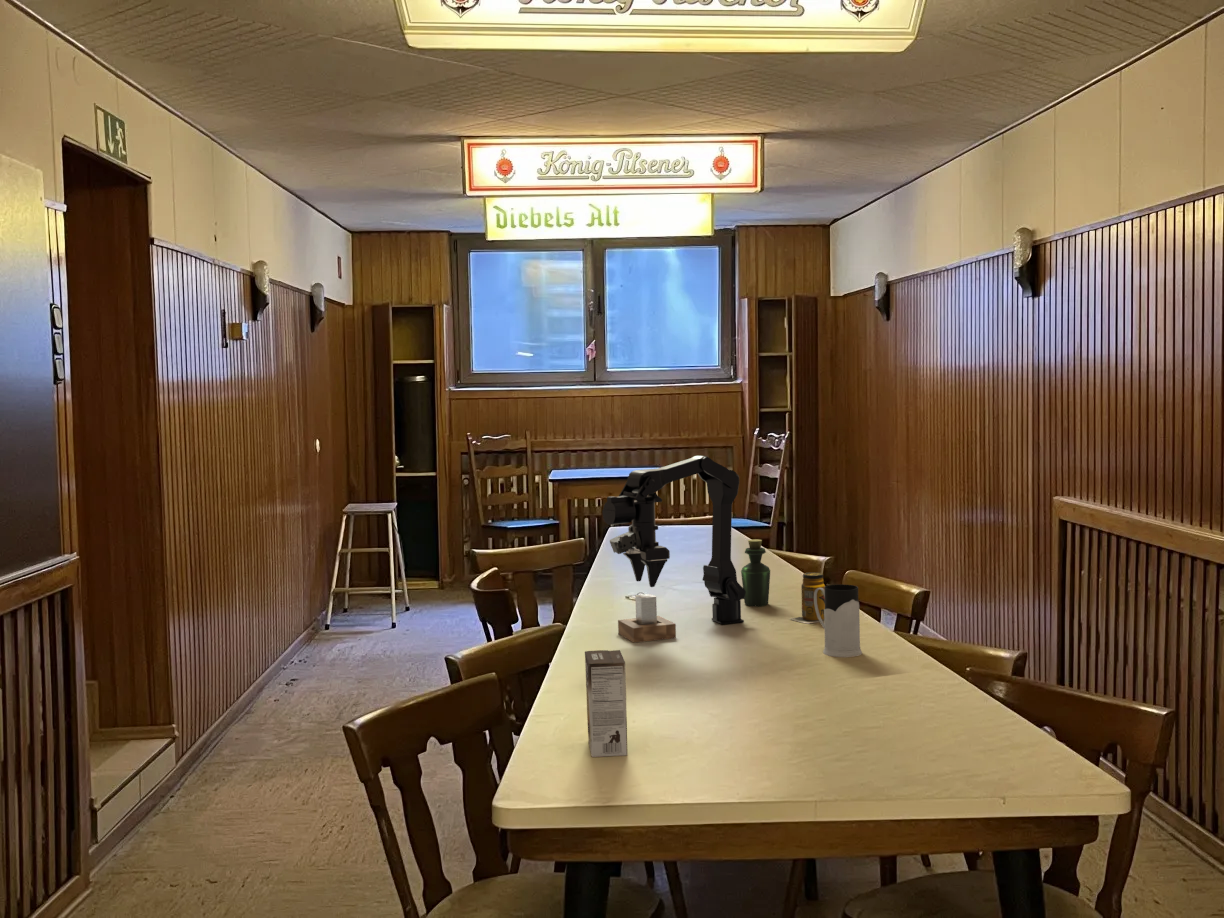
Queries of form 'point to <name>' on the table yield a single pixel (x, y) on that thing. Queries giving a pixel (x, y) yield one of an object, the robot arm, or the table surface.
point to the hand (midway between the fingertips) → (645, 584)
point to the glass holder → (840, 620)
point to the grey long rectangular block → (646, 609)
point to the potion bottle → (755, 576)
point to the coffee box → (606, 703)
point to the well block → (646, 630)
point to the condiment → (811, 598)
